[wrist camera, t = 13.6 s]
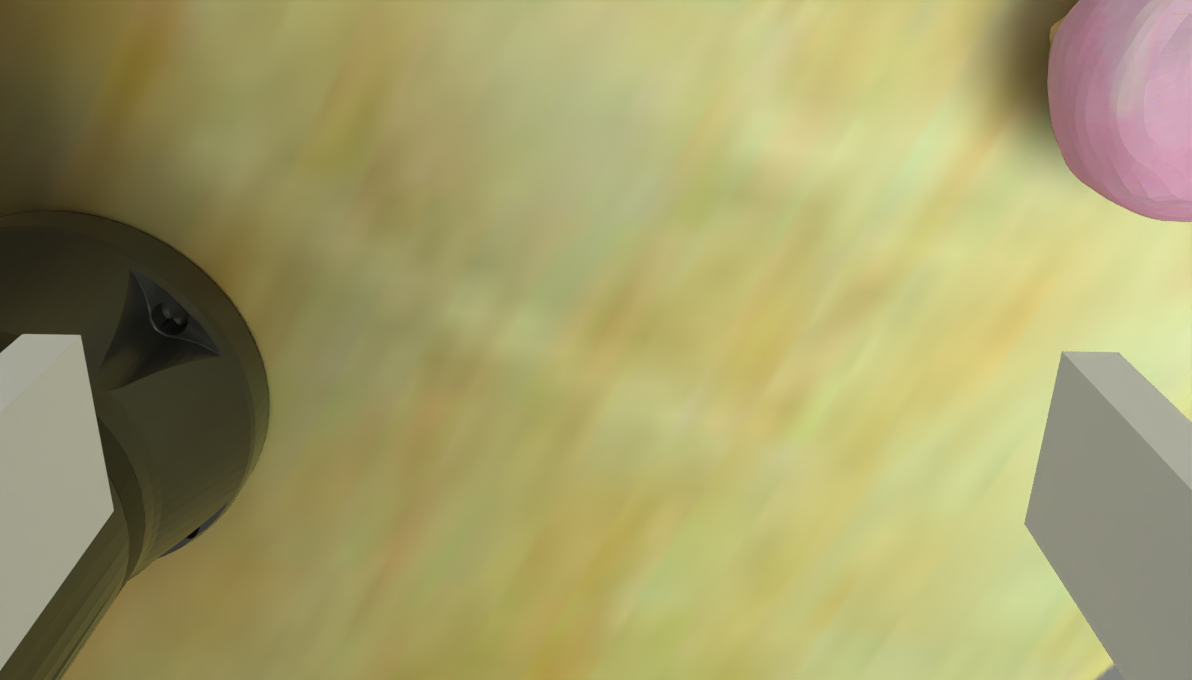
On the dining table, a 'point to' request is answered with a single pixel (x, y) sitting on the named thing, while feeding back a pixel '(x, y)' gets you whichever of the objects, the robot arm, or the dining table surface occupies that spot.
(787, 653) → the dining table surface
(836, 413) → the dining table surface
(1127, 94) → the cupcake
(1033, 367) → the dining table surface
